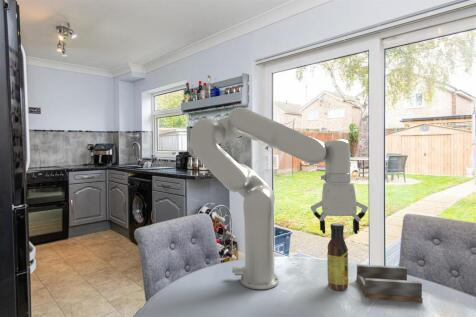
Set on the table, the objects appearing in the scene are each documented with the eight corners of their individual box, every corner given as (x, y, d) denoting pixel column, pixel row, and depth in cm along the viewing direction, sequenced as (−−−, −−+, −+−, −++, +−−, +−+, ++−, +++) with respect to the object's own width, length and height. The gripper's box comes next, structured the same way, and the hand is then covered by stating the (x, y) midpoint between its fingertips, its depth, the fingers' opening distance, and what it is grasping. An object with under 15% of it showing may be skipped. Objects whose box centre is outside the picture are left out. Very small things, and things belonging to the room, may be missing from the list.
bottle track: (366, 298, 89) (366, 280, 89) (356, 279, 103) (356, 263, 103) (422, 302, 86) (422, 284, 86) (404, 282, 100) (404, 266, 100)
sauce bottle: (349, 292, 93) (349, 227, 93) (328, 290, 94) (328, 226, 94) (346, 283, 100) (346, 222, 99) (326, 281, 101) (326, 221, 101)
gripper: (310, 180, 94) (312, 235, 95) (369, 179, 91) (371, 236, 92) (309, 178, 102) (310, 229, 102) (363, 177, 99) (365, 230, 99)
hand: (339, 232), depth 97 cm, fingers open, 9 cm apart
